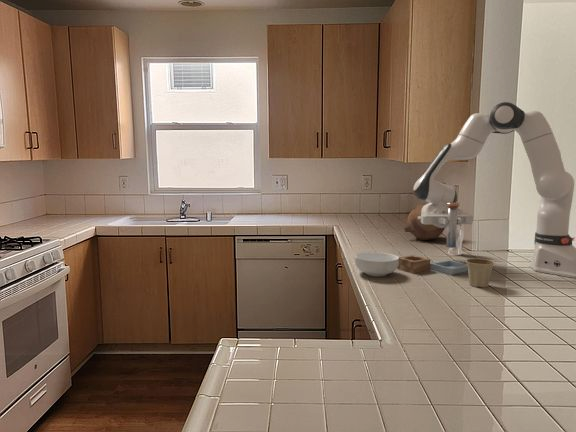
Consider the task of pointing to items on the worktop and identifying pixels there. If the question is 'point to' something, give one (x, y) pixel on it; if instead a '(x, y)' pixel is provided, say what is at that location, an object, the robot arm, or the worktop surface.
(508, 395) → the worktop surface
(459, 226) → the beer glass
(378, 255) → the cereal bowl
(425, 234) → the jug
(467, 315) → the worktop surface
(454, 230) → the pin
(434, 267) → the tray
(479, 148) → the robot arm
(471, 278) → the flower pot
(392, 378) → the worktop surface
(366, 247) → the worktop surface
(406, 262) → the socket block
